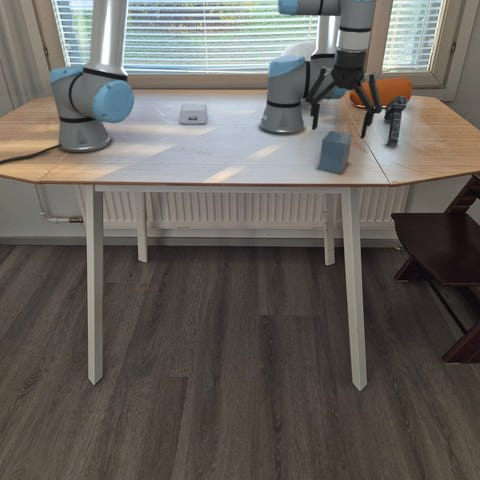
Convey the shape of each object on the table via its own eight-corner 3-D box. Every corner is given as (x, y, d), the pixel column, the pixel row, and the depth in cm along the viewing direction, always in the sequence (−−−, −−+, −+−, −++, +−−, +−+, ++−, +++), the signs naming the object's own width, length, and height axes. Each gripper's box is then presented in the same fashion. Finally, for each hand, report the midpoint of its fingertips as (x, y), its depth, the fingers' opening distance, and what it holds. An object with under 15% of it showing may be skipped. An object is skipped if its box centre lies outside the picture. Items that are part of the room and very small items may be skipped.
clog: (353, 116, 162) (414, 107, 163) (355, 88, 156) (419, 80, 157) (344, 107, 172) (401, 99, 173) (345, 80, 165) (405, 72, 166)
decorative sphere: (262, 73, 173) (275, 25, 150) (318, 71, 177) (338, 25, 154) (272, 121, 166) (286, 79, 143) (329, 118, 170) (353, 77, 147)
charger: (207, 110, 158) (206, 123, 146) (183, 110, 158) (180, 123, 146) (206, 98, 156) (205, 110, 143) (182, 98, 155) (179, 110, 143)
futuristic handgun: (389, 146, 153) (397, 104, 149) (399, 145, 125) (409, 94, 122) (379, 144, 154) (386, 103, 150) (386, 144, 126) (395, 93, 122)
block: (347, 163, 119) (352, 134, 114) (340, 173, 114) (345, 143, 109) (326, 159, 122) (330, 130, 117) (318, 169, 116) (322, 139, 111)
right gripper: (406, 51, 98) (386, 135, 111) (307, 41, 107) (299, 120, 119) (401, 58, 93) (381, 145, 105) (298, 46, 101) (291, 129, 114)
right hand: (338, 132), depth 112 cm, fingers open, 13 cm apart
